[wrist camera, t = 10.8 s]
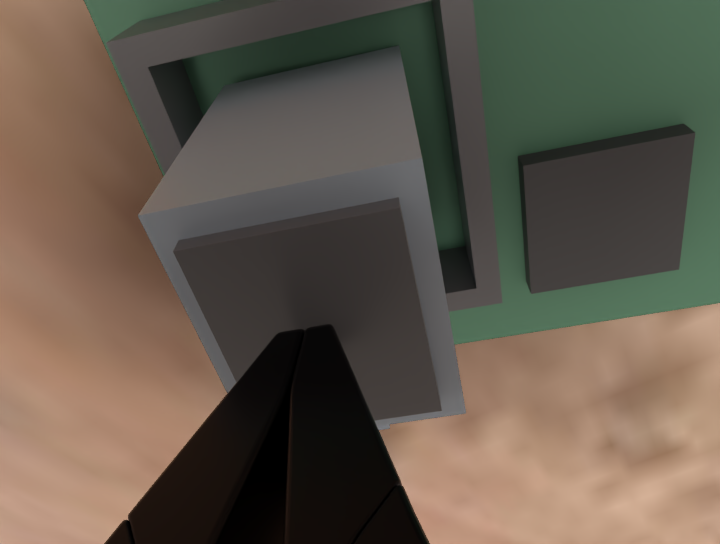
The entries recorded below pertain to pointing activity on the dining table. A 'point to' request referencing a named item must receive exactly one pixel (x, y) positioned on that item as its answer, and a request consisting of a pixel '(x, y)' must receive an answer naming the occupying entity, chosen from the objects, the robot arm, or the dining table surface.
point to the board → (544, 143)
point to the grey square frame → (302, 12)
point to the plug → (313, 231)
